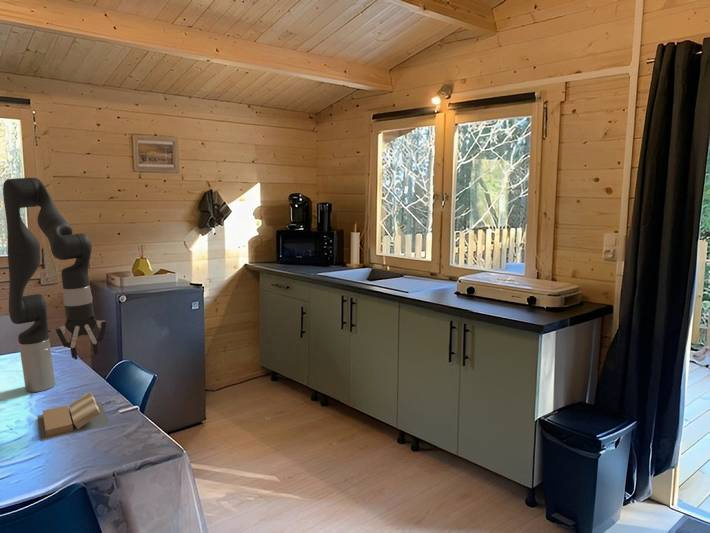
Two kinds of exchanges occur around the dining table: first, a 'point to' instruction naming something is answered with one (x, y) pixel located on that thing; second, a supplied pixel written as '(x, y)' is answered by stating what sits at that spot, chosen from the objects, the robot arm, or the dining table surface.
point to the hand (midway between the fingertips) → (85, 356)
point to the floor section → (66, 422)
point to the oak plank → (84, 410)
